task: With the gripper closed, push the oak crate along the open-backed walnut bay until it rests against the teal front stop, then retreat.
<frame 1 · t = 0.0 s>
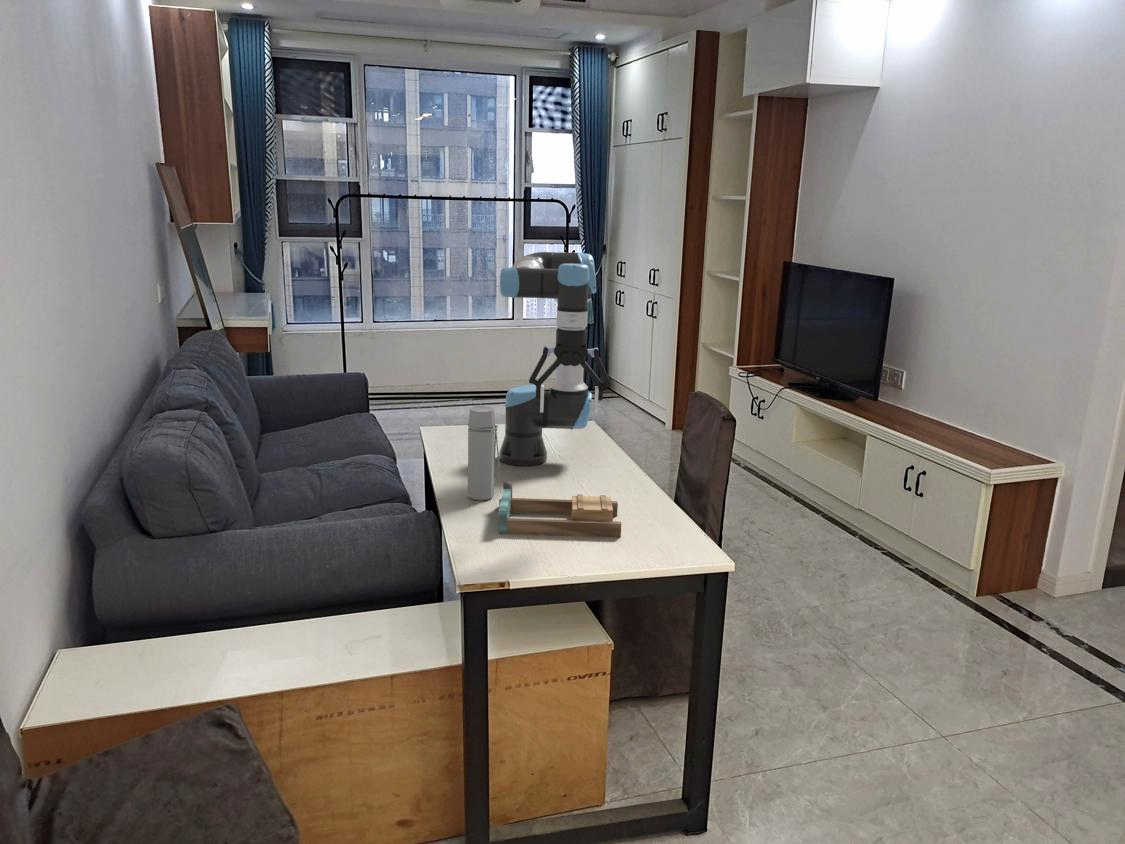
hand: (568, 412, 209), 28 cm above the table, fingers open, 13 cm apart
water bottle: (484, 497, 229), on the table
bay: (563, 523, 211), on the table
crate: (591, 525, 211), on the table
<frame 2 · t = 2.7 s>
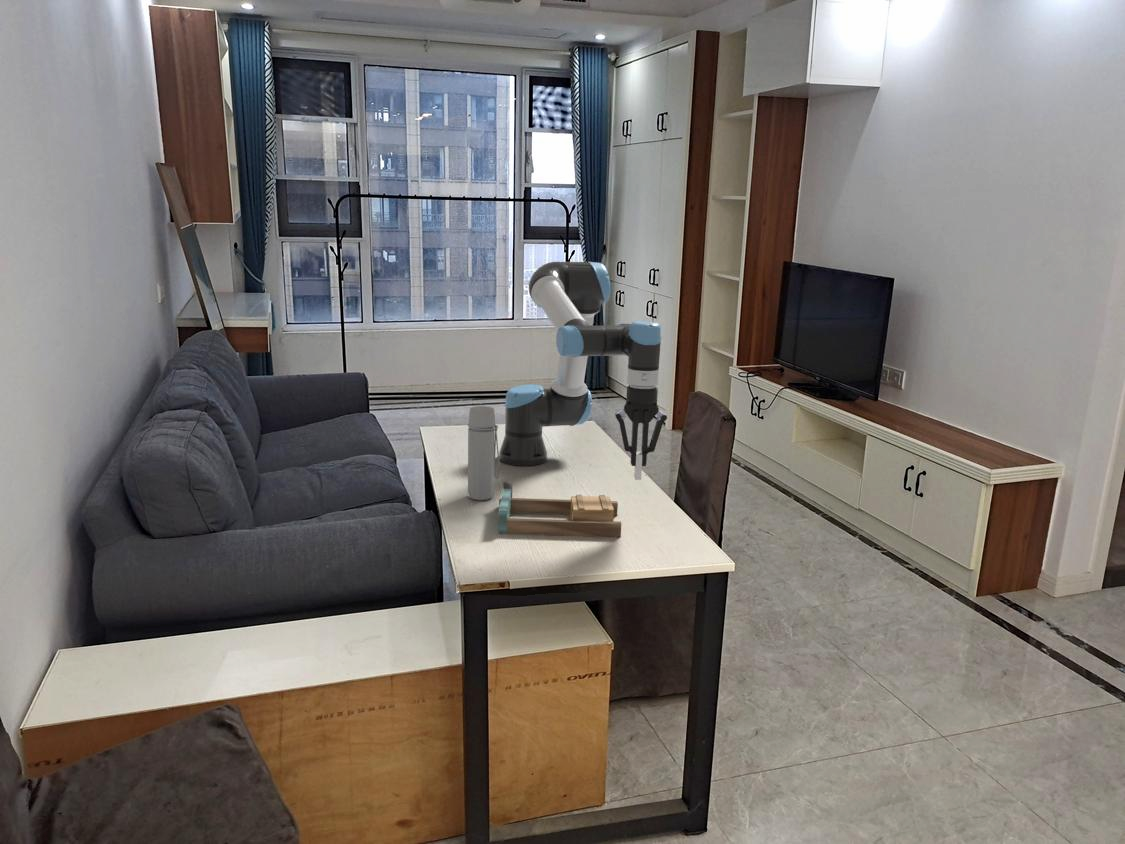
hand: (637, 478, 208), 13 cm above the table, fingers closed
nothing on the table moved.
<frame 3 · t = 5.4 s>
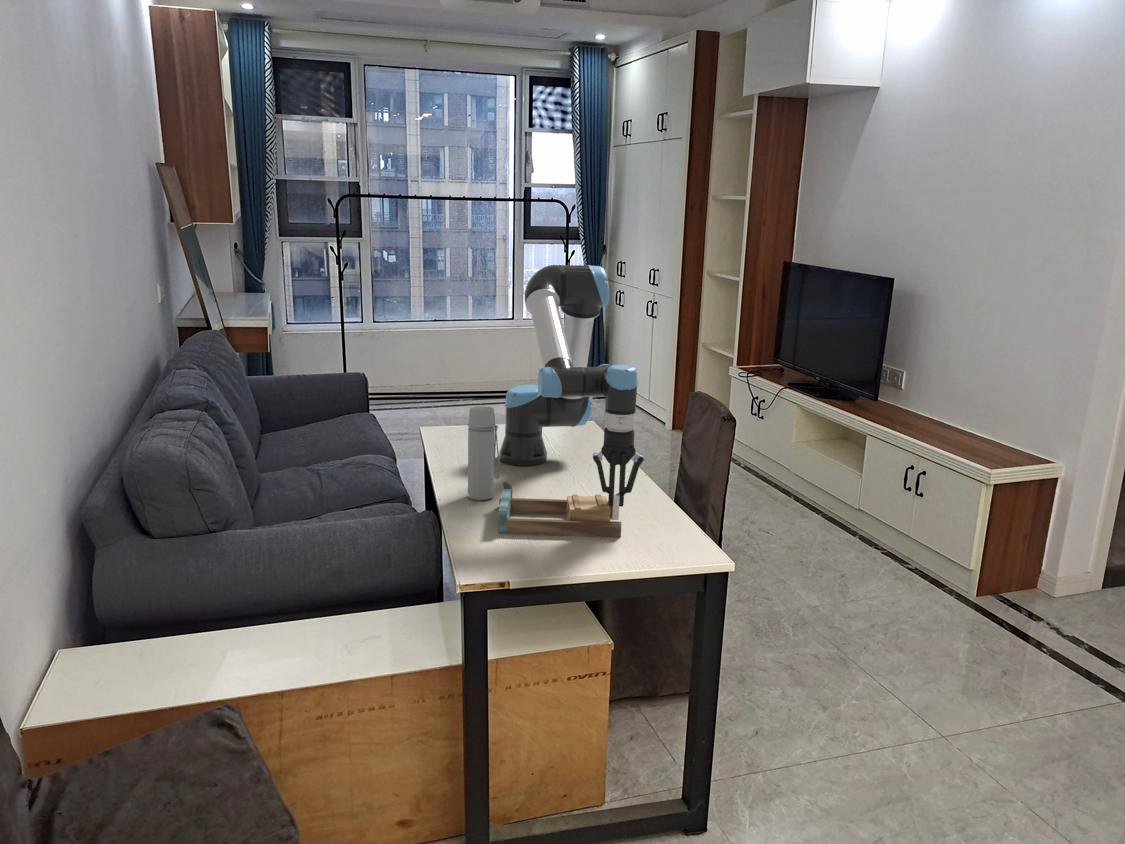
hand: (615, 517, 211), 2 cm above the table, fingers closed
crate: (587, 524, 212), on the table, touching gripper
everything else where it was.
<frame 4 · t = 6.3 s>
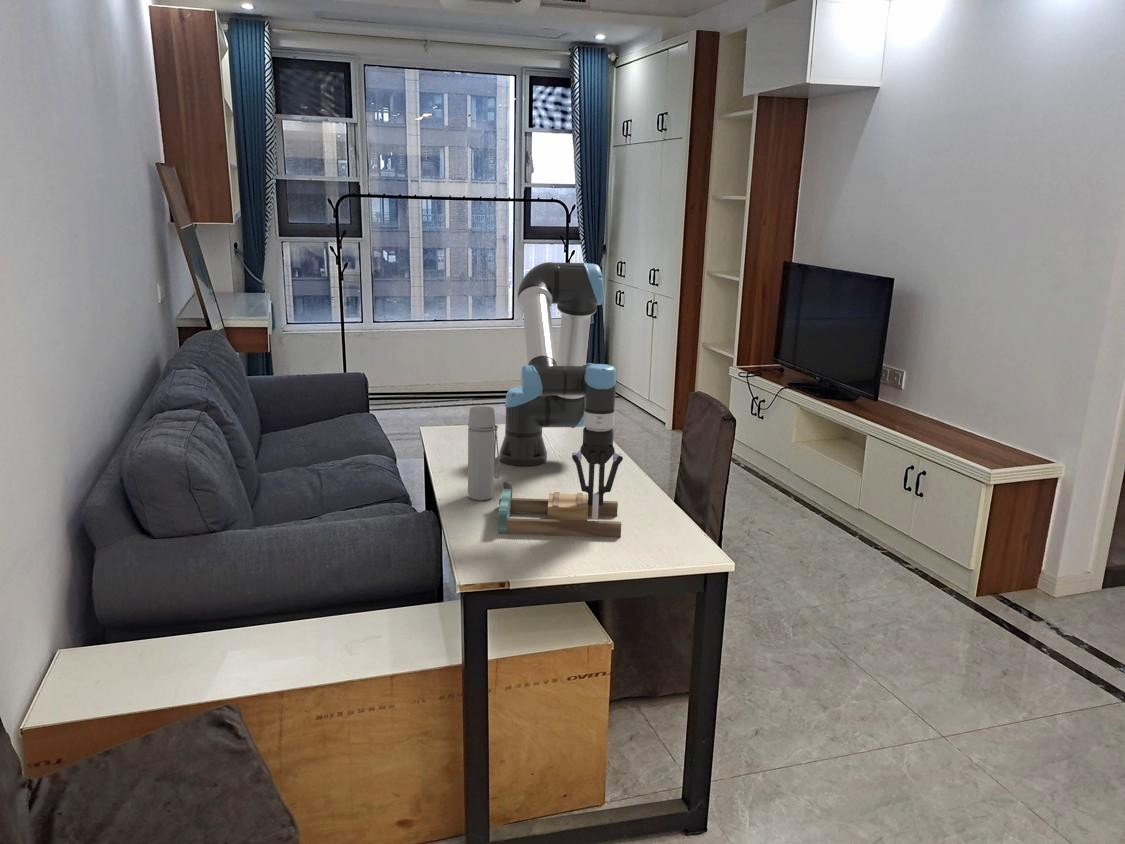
hand: (594, 517, 211), 2 cm above the table, fingers closed
crate: (567, 522, 213), on the table, touching gripper
everything else where it was.
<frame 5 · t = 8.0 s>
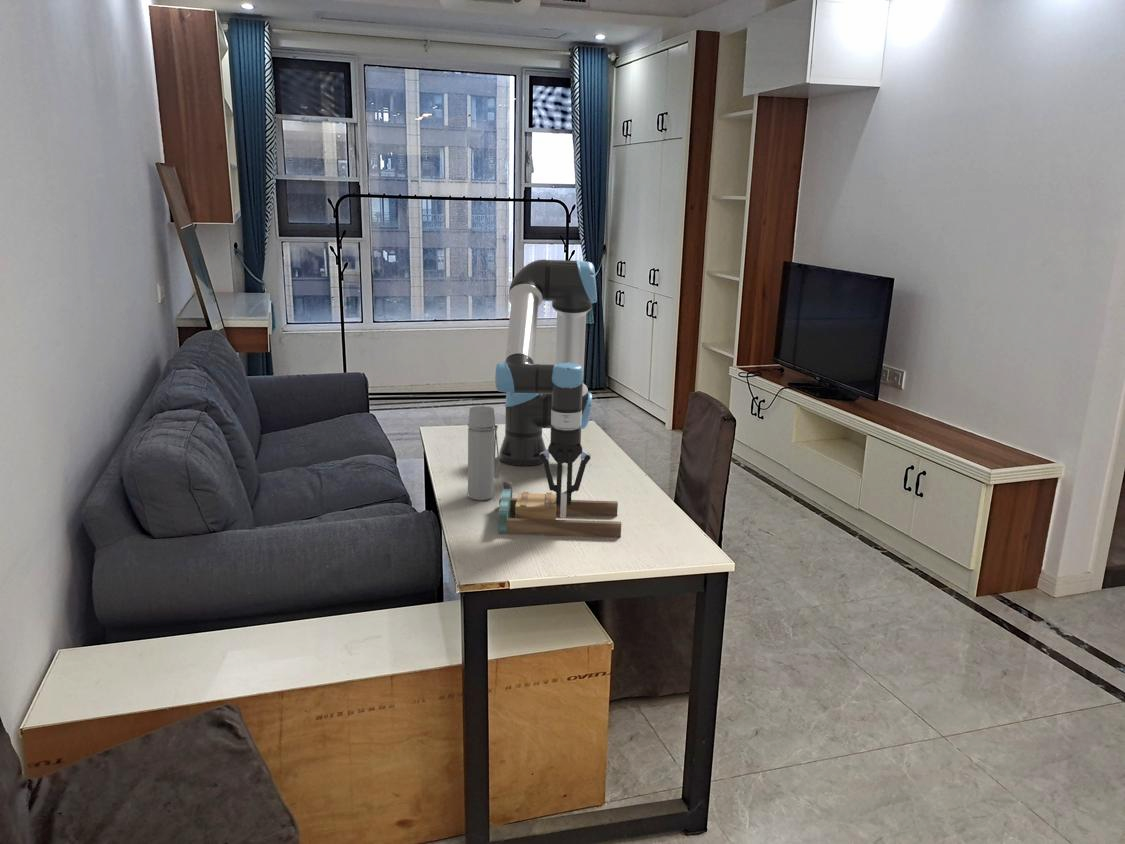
hand: (563, 516, 211), 2 cm above the table, fingers closed
crate: (535, 522, 212), on the table
everything else where it was.
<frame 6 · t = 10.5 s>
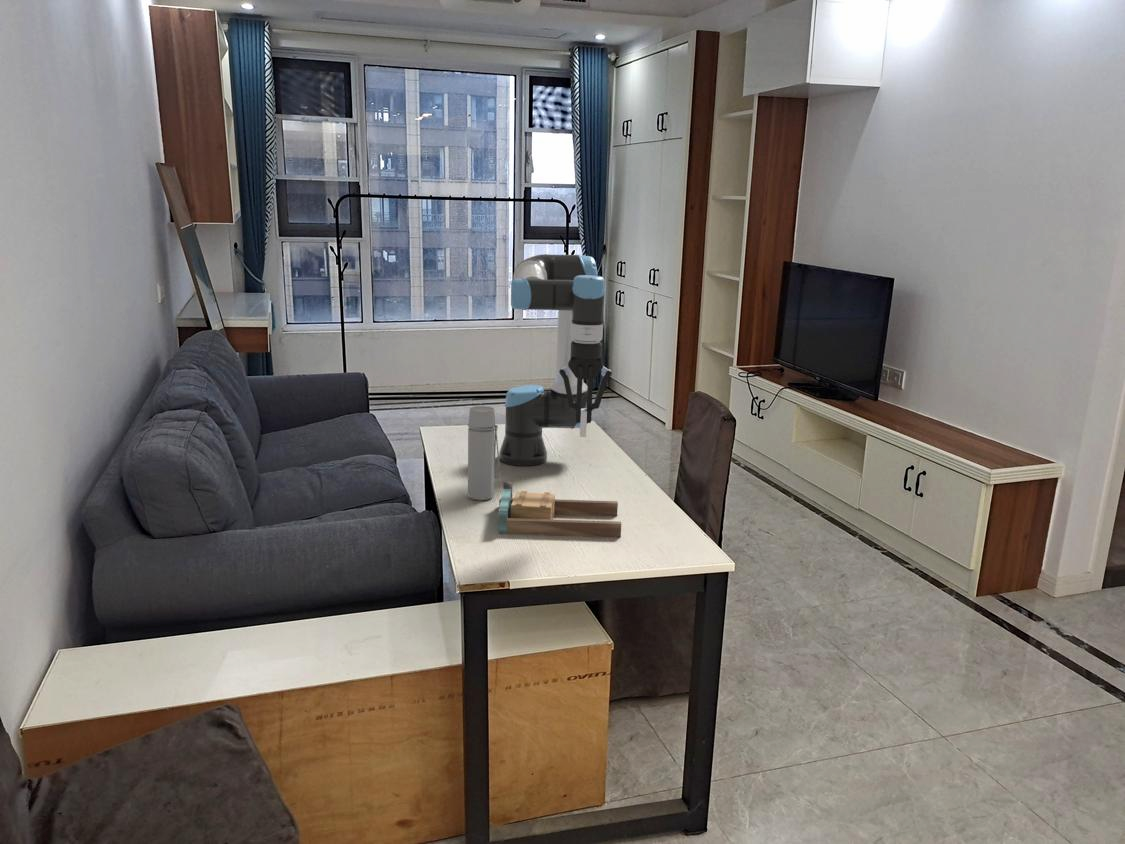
hand: (582, 435, 206), 23 cm above the table, fingers closed
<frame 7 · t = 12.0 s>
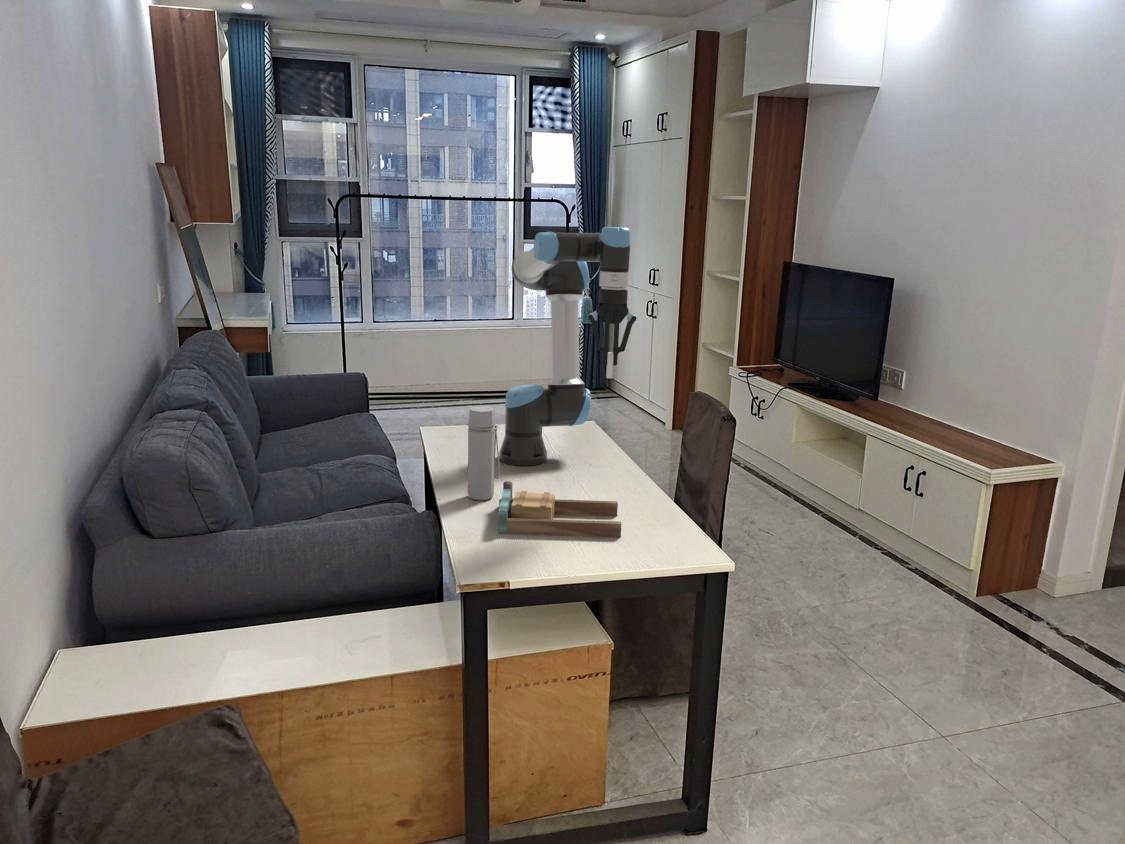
hand: (609, 377, 221), 34 cm above the table, fingers closed
nothing on the table moved.
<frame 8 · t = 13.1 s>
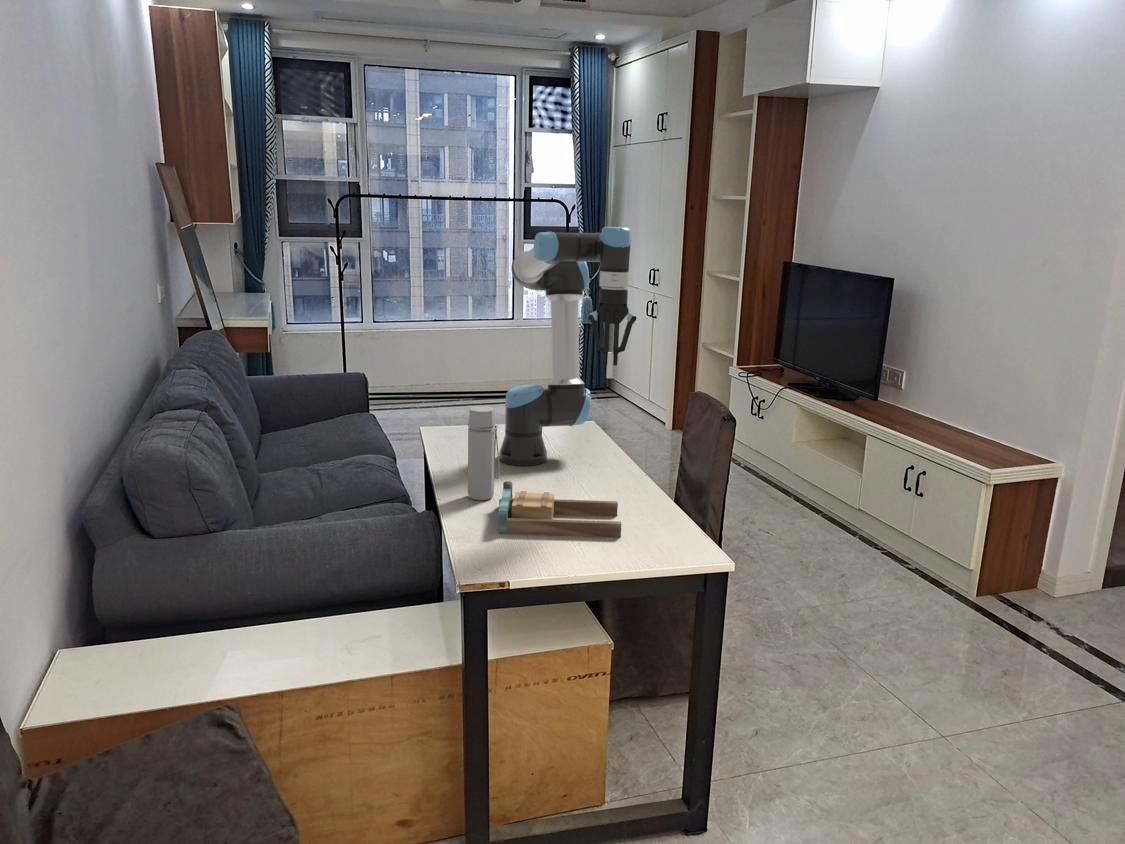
hand: (609, 377, 221), 34 cm above the table, fingers closed
nothing on the table moved.
at the end: crate inside the target area (1.0 cm from its centre), on the table; crate tilted 0°; crate moved 14.9 cm from its start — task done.
